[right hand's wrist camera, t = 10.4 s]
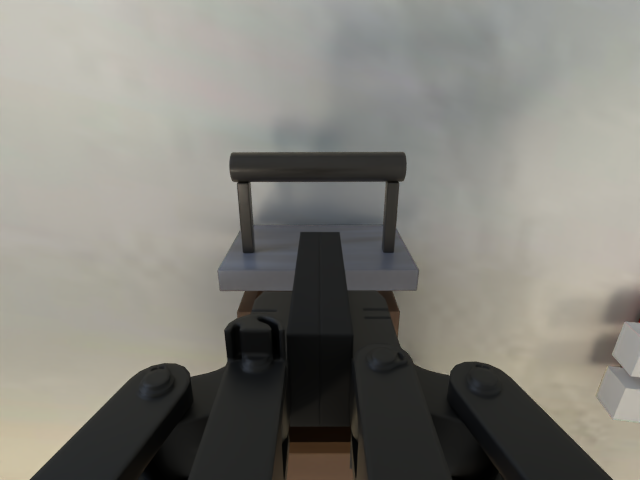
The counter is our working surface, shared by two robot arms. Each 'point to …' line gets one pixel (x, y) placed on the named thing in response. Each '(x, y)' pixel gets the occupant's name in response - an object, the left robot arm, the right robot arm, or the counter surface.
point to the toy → (623, 377)
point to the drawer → (283, 240)
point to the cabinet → (319, 461)
